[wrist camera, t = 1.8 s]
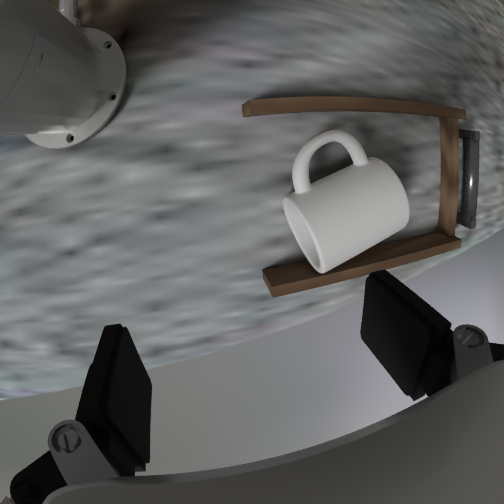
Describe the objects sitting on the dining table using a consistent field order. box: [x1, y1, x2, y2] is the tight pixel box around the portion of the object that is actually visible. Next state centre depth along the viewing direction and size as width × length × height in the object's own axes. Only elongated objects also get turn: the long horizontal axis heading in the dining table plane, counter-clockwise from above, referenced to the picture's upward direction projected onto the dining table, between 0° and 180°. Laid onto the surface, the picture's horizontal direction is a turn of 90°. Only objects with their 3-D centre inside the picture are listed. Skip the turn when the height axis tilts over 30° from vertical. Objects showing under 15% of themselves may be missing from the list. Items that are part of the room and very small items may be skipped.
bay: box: [242, 96, 480, 298], centre depth 29 cm, size 18×30×4 cm, turn 97°
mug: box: [283, 130, 410, 273], centre depth 26 cm, size 12×10×8 cm
